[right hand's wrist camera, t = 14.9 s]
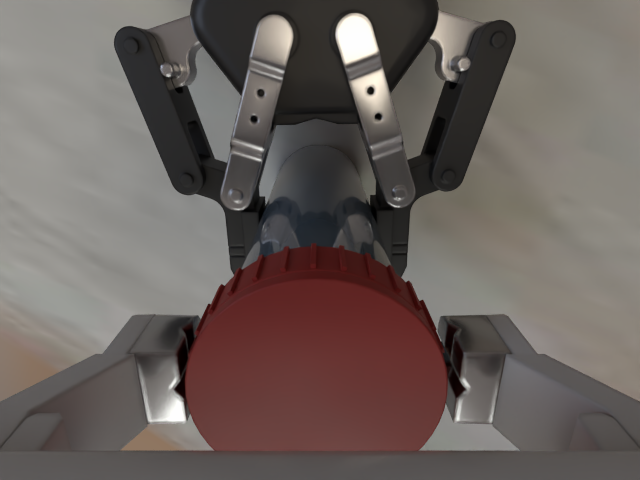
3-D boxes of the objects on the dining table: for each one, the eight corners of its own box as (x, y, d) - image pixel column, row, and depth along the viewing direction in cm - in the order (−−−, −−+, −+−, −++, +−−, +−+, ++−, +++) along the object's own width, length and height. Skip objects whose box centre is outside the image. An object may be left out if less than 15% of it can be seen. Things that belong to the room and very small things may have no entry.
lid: (435, 425, 11) (454, 481, 9) (227, 446, 11) (213, 503, 10) (428, 227, 9) (450, 258, 8) (175, 257, 9) (147, 293, 8)
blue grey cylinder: (302, 238, 25) (277, 481, 10) (261, 169, 24) (164, 337, 9) (373, 202, 24) (458, 410, 10) (336, 129, 23) (367, 240, 8)
